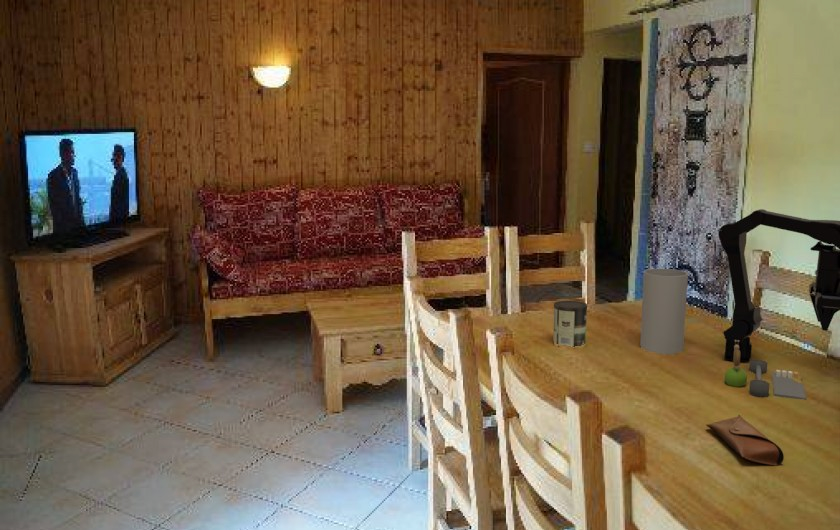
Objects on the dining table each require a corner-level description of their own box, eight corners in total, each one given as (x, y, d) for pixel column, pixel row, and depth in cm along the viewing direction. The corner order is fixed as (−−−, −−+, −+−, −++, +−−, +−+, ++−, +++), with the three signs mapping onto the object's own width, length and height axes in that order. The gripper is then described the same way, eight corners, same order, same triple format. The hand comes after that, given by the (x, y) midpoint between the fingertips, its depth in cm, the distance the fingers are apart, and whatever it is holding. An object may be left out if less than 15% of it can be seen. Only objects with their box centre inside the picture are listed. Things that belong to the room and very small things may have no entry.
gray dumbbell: (748, 399, 175) (750, 384, 175) (748, 372, 195) (749, 358, 195) (768, 402, 173) (769, 386, 173) (766, 374, 193) (767, 360, 193)
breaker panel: (773, 399, 175) (774, 388, 174) (771, 377, 191) (772, 367, 190) (805, 403, 172) (806, 392, 171) (800, 380, 188) (801, 370, 188)
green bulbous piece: (744, 384, 186) (748, 340, 184) (747, 392, 180) (750, 347, 178) (722, 381, 188) (725, 338, 186) (724, 389, 182) (727, 345, 180)
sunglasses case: (702, 422, 157) (723, 400, 156) (724, 441, 158) (744, 419, 157) (743, 458, 139) (766, 434, 138) (767, 479, 140) (790, 455, 139)
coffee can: (582, 342, 225) (583, 300, 222) (589, 352, 215) (590, 307, 212) (550, 342, 225) (551, 300, 223) (555, 352, 215) (556, 307, 212)
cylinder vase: (676, 346, 220) (681, 268, 215) (687, 359, 207) (693, 276, 203) (636, 346, 221) (639, 268, 216) (644, 358, 209) (648, 276, 204)
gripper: (872, 278, 172) (863, 339, 175) (858, 265, 189) (851, 320, 192) (820, 274, 176) (813, 333, 179) (811, 261, 193) (805, 316, 196)
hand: (822, 325), depth 186 cm, fingers open, 9 cm apart
